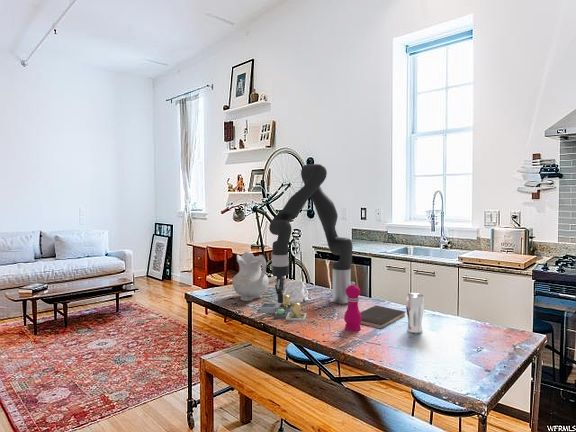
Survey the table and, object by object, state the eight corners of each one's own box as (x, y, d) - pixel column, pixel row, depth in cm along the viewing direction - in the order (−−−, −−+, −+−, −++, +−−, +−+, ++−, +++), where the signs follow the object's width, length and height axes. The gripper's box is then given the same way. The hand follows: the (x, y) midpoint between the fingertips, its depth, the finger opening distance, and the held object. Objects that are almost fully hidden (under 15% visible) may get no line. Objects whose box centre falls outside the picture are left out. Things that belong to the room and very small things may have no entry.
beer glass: (414, 335, 160) (415, 298, 159) (402, 329, 166) (402, 294, 165) (427, 332, 163) (427, 295, 162) (414, 327, 169) (415, 292, 168)
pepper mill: (363, 327, 170) (363, 280, 168) (359, 333, 163) (359, 284, 162) (347, 325, 173) (347, 279, 171) (341, 330, 166) (341, 282, 165)
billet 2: (301, 317, 181) (301, 302, 181) (300, 320, 178) (300, 304, 177) (292, 317, 182) (292, 301, 182) (291, 319, 178) (291, 304, 178)
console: (287, 317, 183) (287, 312, 183) (285, 321, 178) (285, 315, 178) (276, 317, 184) (276, 311, 184) (274, 320, 179) (274, 315, 179)
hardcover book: (405, 316, 185) (405, 311, 185) (381, 330, 168) (381, 324, 168) (374, 309, 196) (374, 305, 196) (348, 321, 179) (348, 316, 178)
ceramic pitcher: (279, 299, 217) (280, 253, 217) (257, 305, 200) (258, 255, 200) (247, 294, 228) (248, 250, 228) (224, 299, 212) (225, 252, 212)
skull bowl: (316, 297, 211) (308, 280, 205) (301, 317, 203) (292, 299, 197) (302, 293, 218) (293, 277, 212) (286, 312, 210) (277, 295, 205)
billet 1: (290, 308, 192) (290, 294, 192) (289, 311, 188) (289, 296, 188) (282, 308, 193) (282, 294, 192) (280, 311, 189) (280, 296, 189)
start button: (284, 313, 182) (284, 308, 182) (283, 315, 179) (283, 311, 179) (278, 313, 183) (278, 308, 182) (277, 315, 180) (276, 310, 179)
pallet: (295, 309, 195) (295, 303, 195) (292, 316, 185) (292, 309, 185) (263, 308, 198) (263, 301, 197) (258, 314, 188) (258, 307, 188)
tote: (306, 317, 183) (306, 313, 183) (304, 323, 175) (304, 318, 175) (288, 316, 185) (288, 312, 184) (285, 322, 176) (285, 318, 176)
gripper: (286, 267, 172) (286, 307, 173) (291, 261, 185) (291, 298, 186) (269, 266, 173) (269, 306, 174) (275, 261, 186) (275, 298, 187)
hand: (280, 302), depth 180 cm, fingers closed
